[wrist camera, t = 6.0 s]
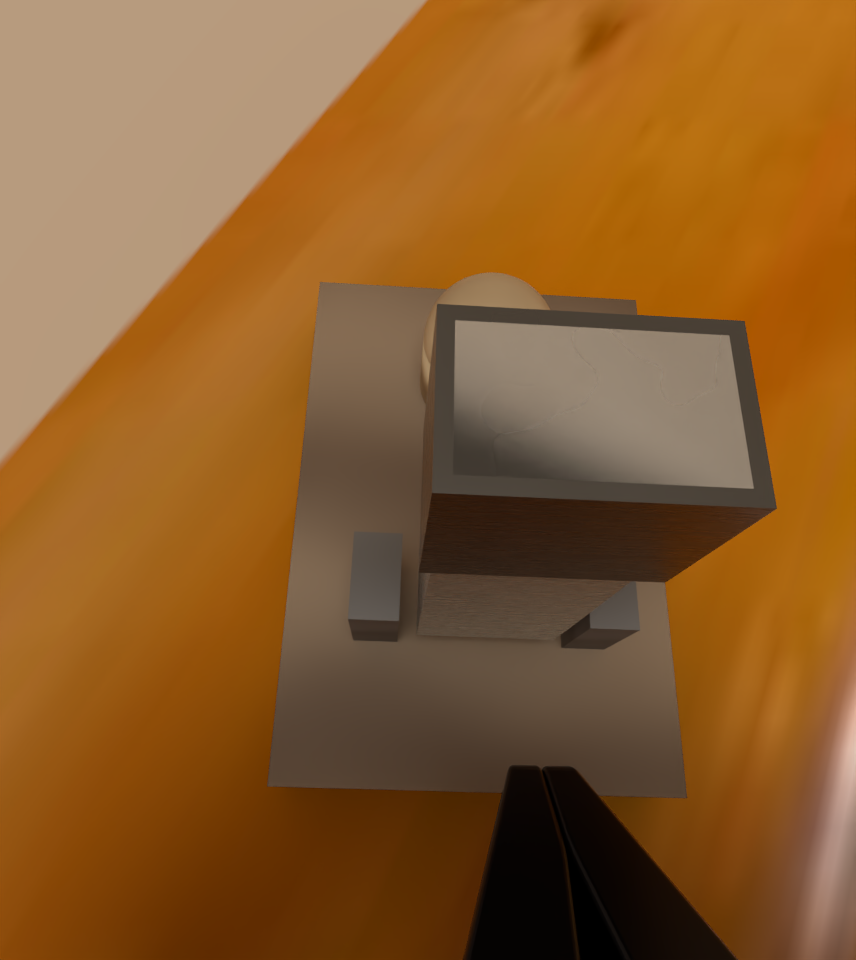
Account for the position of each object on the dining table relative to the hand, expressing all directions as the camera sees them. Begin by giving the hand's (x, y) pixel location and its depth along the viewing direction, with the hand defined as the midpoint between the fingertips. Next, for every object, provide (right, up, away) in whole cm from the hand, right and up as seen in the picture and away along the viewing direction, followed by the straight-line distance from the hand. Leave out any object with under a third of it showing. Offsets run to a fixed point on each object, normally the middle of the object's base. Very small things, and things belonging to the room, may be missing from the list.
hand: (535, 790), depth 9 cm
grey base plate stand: (0, +3, +10) cm, 11 cm away
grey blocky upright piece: (0, +1, +7) cm, 7 cm away
